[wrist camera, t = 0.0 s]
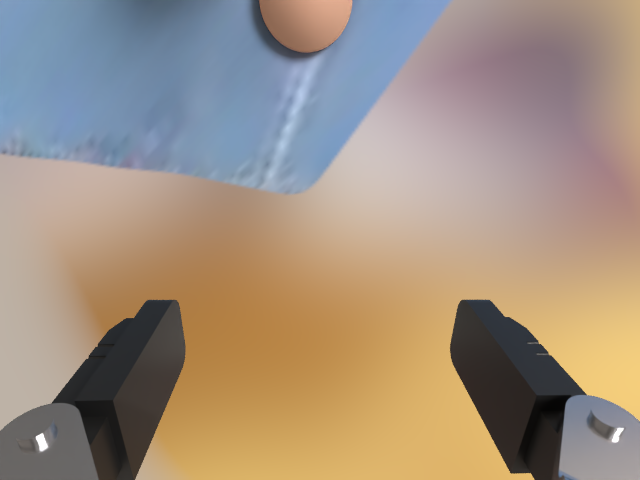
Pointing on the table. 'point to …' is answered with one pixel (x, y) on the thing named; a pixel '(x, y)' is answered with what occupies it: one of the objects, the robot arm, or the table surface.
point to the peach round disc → (306, 22)
